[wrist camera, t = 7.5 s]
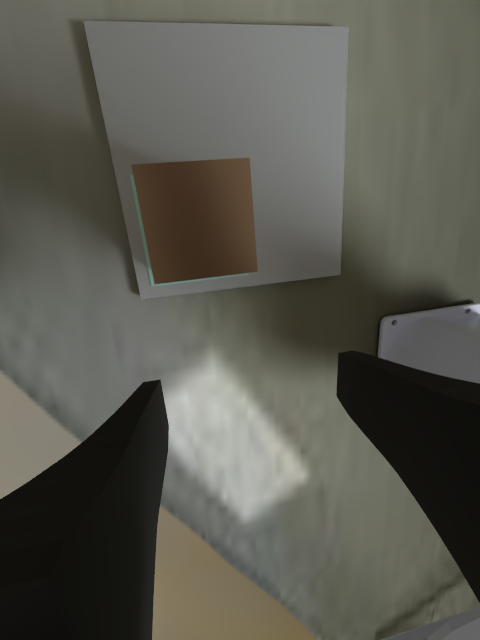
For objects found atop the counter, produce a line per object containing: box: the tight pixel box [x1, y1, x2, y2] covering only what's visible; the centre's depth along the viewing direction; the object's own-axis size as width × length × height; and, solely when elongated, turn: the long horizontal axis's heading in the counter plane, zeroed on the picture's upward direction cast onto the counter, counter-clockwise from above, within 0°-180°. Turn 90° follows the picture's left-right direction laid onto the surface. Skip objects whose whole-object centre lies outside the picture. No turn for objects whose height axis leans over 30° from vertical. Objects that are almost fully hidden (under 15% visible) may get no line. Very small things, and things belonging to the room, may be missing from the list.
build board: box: [83, 21, 349, 300], centre depth 17 cm, size 14×14×1 cm
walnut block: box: [131, 158, 258, 284], centre depth 12 cm, size 4×4×5 cm
